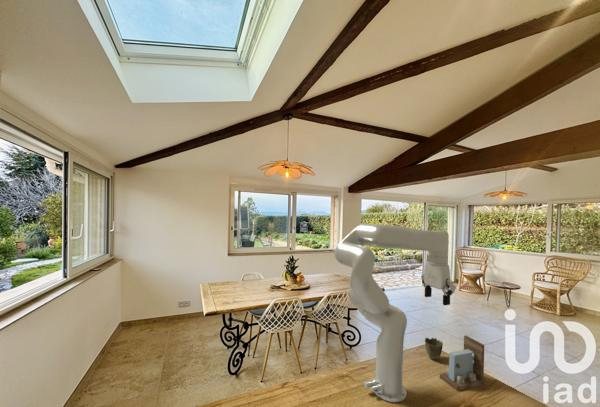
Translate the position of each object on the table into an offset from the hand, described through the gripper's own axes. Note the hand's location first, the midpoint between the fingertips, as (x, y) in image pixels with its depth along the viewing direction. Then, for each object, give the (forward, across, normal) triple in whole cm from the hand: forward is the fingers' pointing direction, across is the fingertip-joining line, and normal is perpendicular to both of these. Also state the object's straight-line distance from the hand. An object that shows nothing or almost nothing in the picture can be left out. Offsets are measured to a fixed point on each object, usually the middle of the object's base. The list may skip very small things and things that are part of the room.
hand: (436, 300), depth 112 cm
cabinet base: (+30, +7, +6) cm, 32 cm away
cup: (+31, -9, +8) cm, 33 cm away
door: (+29, +7, +6) cm, 30 cm away
